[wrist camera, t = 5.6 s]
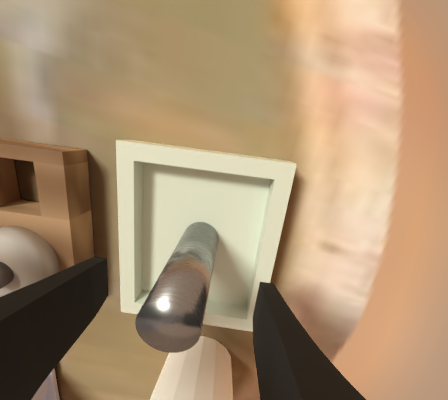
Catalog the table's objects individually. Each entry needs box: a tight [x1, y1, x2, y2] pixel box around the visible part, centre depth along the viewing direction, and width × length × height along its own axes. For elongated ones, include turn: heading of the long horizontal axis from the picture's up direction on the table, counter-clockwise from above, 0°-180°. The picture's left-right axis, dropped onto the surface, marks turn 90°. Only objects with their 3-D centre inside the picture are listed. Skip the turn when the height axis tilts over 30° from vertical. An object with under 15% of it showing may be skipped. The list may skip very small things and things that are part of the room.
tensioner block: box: [0, 138, 95, 297], centre depth 13 cm, size 10×7×4 cm
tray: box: [116, 140, 297, 332], centre depth 14 cm, size 12×10×2 cm
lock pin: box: [136, 222, 219, 353], centre depth 11 cm, size 2×2×7 cm
